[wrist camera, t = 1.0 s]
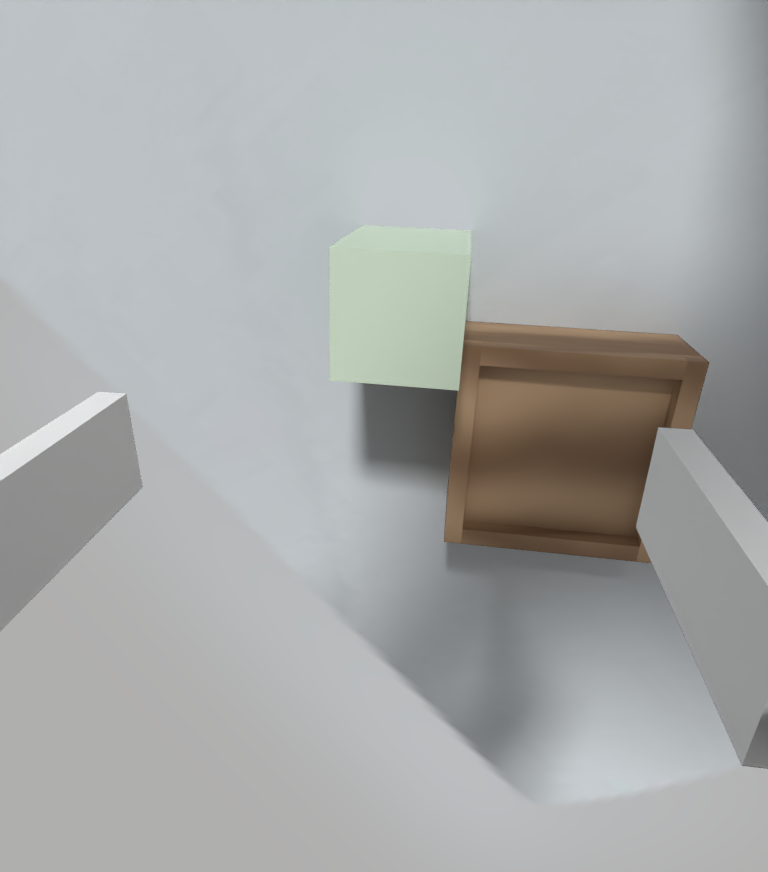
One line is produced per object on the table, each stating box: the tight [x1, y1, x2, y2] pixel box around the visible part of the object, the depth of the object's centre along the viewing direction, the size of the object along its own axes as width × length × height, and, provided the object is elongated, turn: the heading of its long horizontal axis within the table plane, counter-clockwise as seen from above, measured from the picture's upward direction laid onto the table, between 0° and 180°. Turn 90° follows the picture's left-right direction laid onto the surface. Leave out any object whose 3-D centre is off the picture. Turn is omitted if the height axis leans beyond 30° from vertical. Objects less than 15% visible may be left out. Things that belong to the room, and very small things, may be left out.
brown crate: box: [444, 321, 709, 563], centre depth 35 cm, size 12×12×5 cm
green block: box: [329, 225, 472, 391], centre depth 31 cm, size 6×6×9 cm
